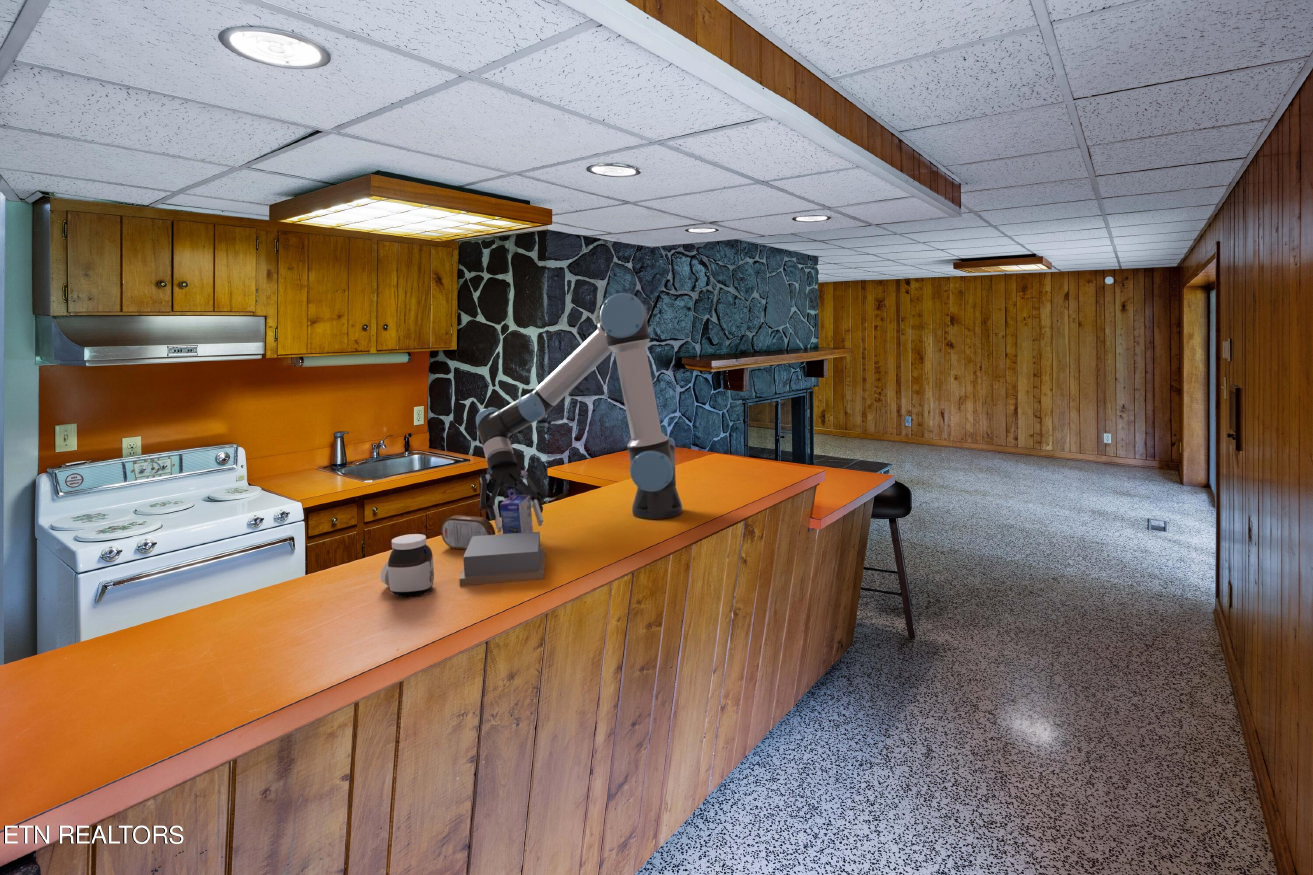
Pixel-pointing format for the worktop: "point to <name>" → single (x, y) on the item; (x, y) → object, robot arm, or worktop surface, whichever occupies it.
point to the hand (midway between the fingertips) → (520, 526)
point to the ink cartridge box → (516, 514)
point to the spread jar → (409, 566)
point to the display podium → (503, 558)
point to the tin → (464, 530)
